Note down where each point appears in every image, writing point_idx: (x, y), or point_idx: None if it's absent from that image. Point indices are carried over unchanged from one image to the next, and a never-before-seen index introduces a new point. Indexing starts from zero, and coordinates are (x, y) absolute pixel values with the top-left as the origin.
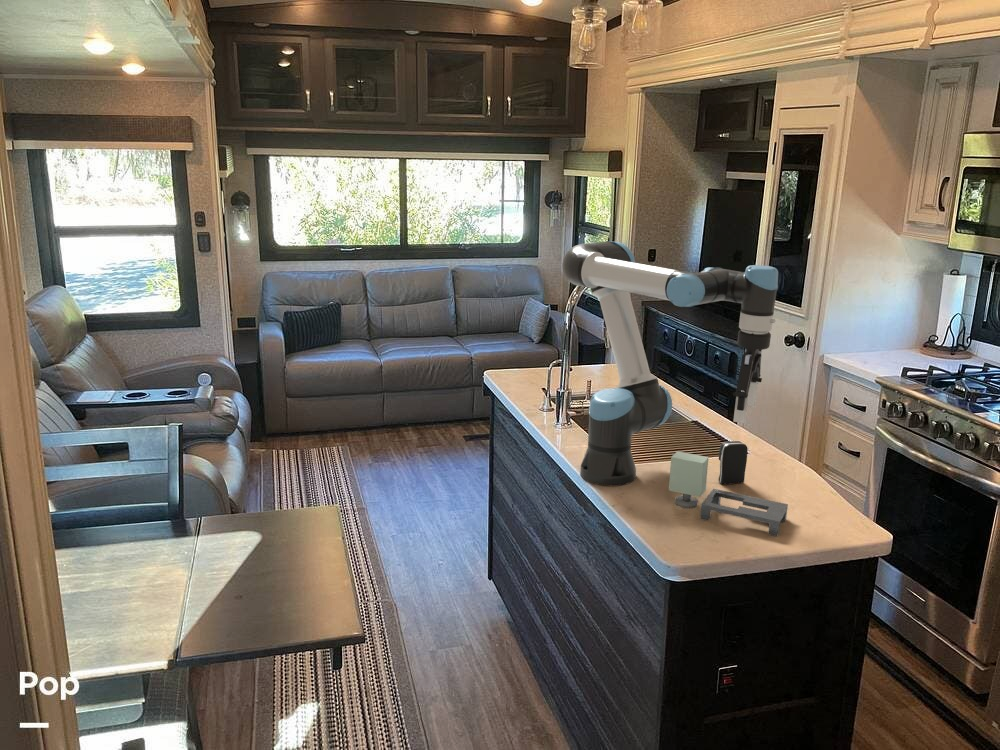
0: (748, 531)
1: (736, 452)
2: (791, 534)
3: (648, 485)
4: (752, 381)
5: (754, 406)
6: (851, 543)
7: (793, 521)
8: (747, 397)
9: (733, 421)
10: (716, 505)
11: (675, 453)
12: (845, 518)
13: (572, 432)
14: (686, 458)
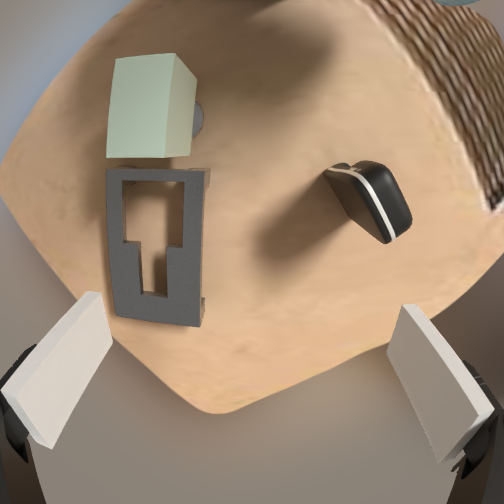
0: None
1: (364, 213)
2: None
3: (243, 27)
4: (475, 437)
5: (390, 356)
6: (170, 386)
7: None
8: (35, 440)
9: (88, 291)
10: (116, 199)
11: (150, 56)
12: (255, 383)
13: None
14: (122, 99)
